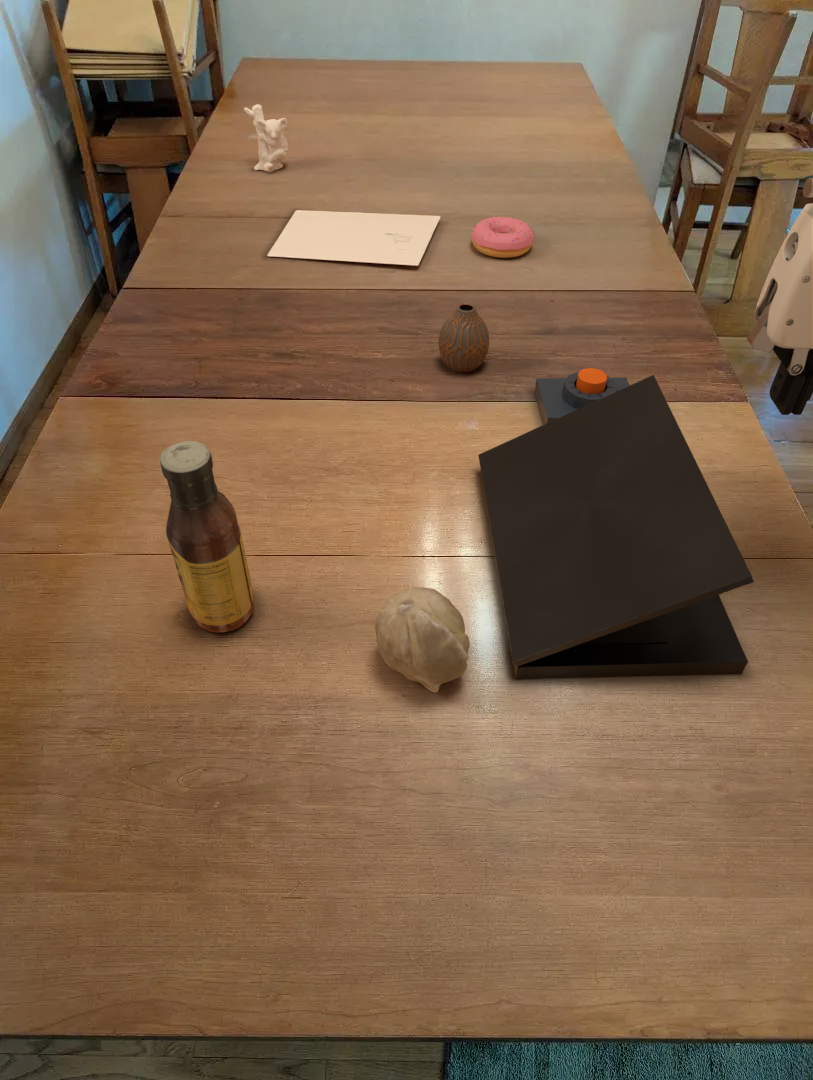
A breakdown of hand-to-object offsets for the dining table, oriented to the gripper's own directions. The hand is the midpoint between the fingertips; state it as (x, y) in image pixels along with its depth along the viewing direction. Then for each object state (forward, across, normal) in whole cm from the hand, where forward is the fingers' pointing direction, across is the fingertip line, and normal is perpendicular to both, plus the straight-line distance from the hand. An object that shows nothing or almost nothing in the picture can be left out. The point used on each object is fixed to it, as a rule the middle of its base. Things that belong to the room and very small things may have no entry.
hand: (784, 405), depth 70 cm
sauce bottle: (+20, -51, -6) cm, 55 cm away
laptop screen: (+12, -15, 0) cm, 19 cm away
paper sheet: (+20, -39, +81) cm, 93 cm away
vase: (+20, -24, +39) cm, 50 cm away
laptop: (+19, -13, 0) cm, 23 cm away
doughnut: (+20, -14, +77) cm, 81 cm away
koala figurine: (+20, -57, +116) cm, 131 cm away
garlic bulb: (+20, -32, -13) cm, 40 cm away
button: (+16, -9, +27) cm, 33 cm away
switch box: (+19, -9, +27) cm, 34 cm away
